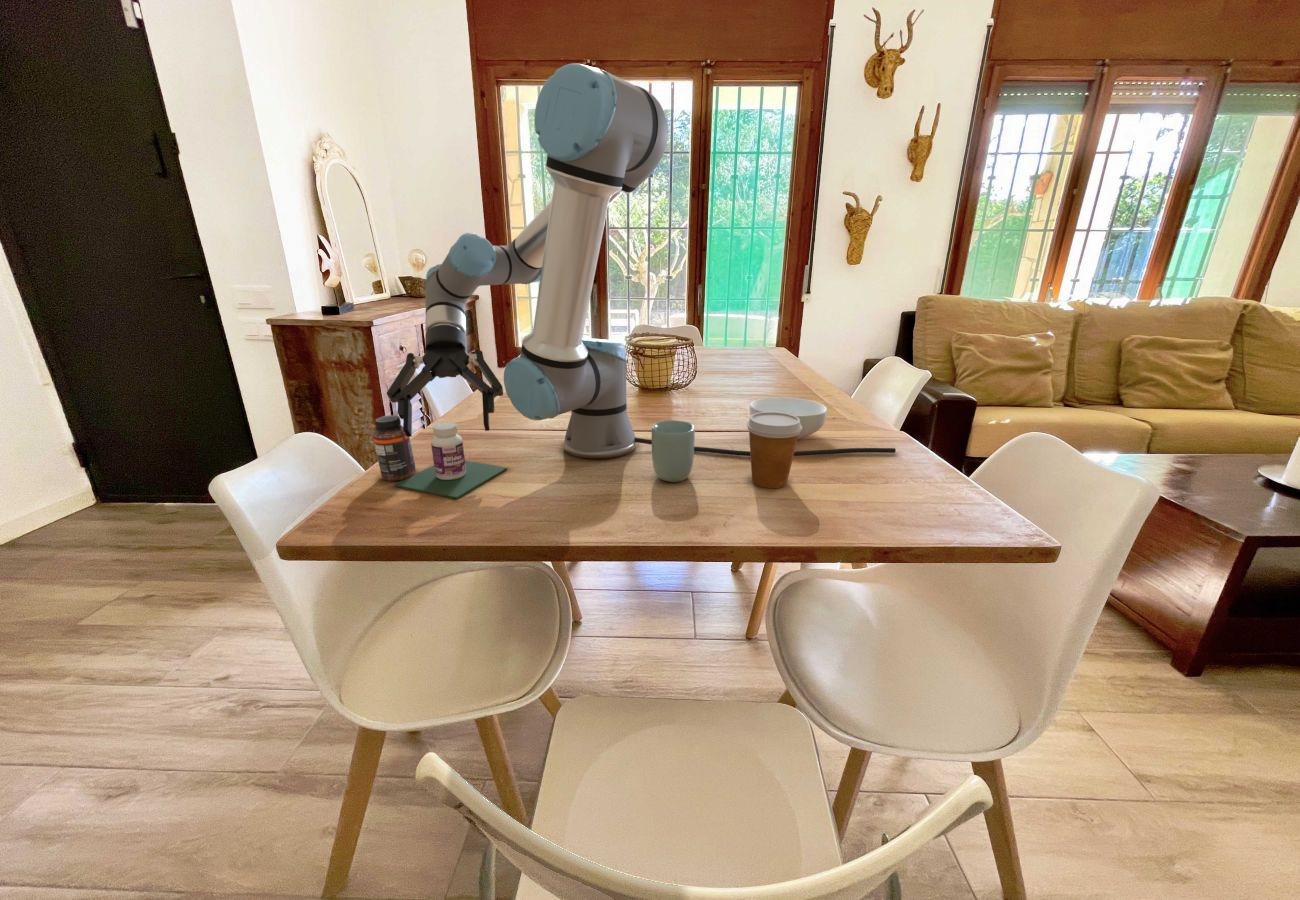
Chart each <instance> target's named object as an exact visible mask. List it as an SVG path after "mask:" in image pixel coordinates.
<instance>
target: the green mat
mask: <svg viewBox="0 0 1300 900" xmlns="http://www.w3.org/2000/svg"><path fill="white" fill-rule="evenodd" d="M465 464H466V474H465V475H464V476H463V477H461V478H458V479H453V480H441V479H439V478H437V477H436V473H435V467H434V465H432V466H430V467H428V468H426V469H424V470H421V471H420V472H417V473H415V474H414V475H413V476H411V477H409V478H406V479H403V480H400V481H398V482H396V483H395V484H393V486H394V487H396V488H400V489H405V490H410V491H415V492H420V493H424V494H430V495H434V496H439V497H444V498H449V499H455V500H458V499H460V498H462V497H464V496H465V495H466V494H468V493H470V492H472V491H473V490H476V489H477V488H478V487H481V486H482V485H484V484H485V483H487V482H489V481H490V480H493V479H494V478H495V477H497V476H499V475H501V474H502V473H504V472H505V471H507V470H508V467H505V466H499V465H494V464H493V465H492V464H486V463H480V462H476V461H475V462H474V461H470V460H465Z"/></svg>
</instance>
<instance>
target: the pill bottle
mask: <svg viewBox="0 0 1300 900" xmlns="http://www.w3.org/2000/svg"><path fill="white" fill-rule="evenodd" d="M432 430H433V434H434V437H432V439H431V441H430V447H431V451H432V452H431V453H432V460H433V466H434V467H435V473H436V477H437V478H439V479H441V480H453V479H458V478H461V477H463V476H464V475H465V474H466V464H465V461H466V457H465V451H464V450H465V449H464V441H463V438H462V436H461V435H460V434H458V426H457V424H456V423H455V422H454V423H453V422H444V423H438V424H436V425H433V426H432Z"/></svg>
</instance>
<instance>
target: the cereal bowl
mask: <svg viewBox="0 0 1300 900" xmlns="http://www.w3.org/2000/svg"><path fill="white" fill-rule="evenodd" d="M759 412H781V413H787V414H791V415H794V416H796V417H798V418H799V419H800V424H801V426H802V430H801V431H800V433H799V435H798V439H797V440H800V439H803V438H804V437H807V436H810V435H812V434H814V433H817V432H818V431H819V430H821V428H822V427H823V426H824V424H825V422H826V420H827V416H828V415H827V414H828V408H827V406H826V405H824V404H822V403H820V402H818V401H814V400H810V399H805V398H800V397H788V396H787V397H786V396H773V397H763V398H759V399H755V400H753V401H752V402H750V404H749V417H750V416H751V415H752V414H755V413H759Z"/></svg>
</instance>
